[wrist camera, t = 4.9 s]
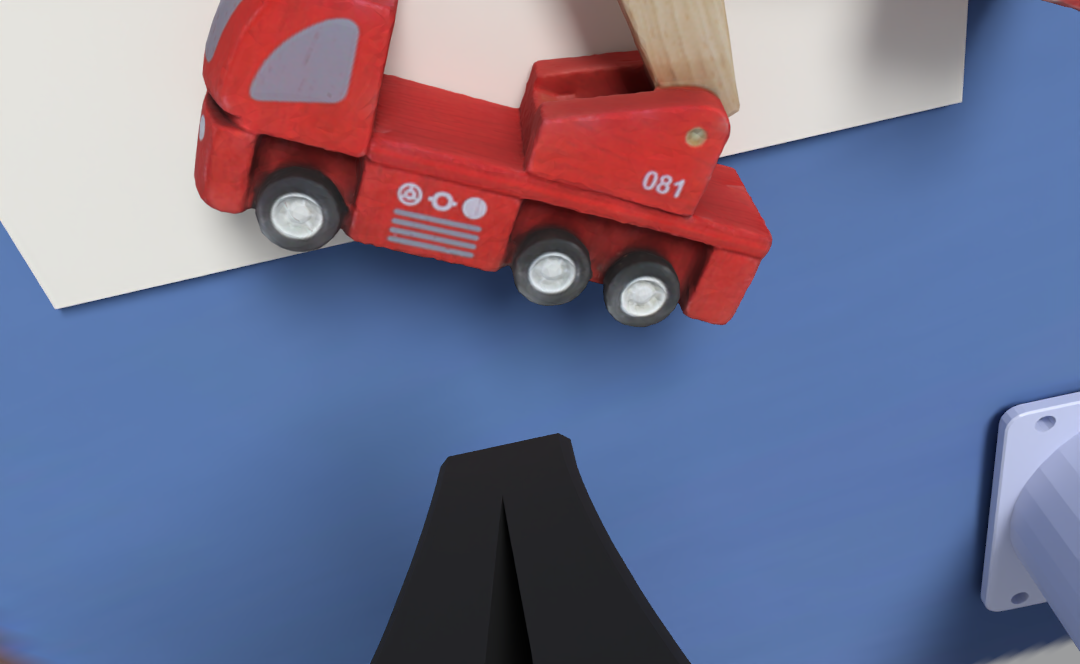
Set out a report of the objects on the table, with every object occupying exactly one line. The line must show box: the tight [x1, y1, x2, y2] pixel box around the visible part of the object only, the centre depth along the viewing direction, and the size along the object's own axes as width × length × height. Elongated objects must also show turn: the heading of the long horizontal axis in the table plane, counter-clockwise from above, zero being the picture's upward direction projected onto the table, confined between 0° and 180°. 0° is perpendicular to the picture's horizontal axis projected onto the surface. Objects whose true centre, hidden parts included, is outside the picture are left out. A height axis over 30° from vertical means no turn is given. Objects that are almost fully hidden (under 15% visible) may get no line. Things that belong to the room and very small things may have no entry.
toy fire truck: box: [194, 0, 1080, 327], centre depth 16 cm, size 3×14×10 cm
